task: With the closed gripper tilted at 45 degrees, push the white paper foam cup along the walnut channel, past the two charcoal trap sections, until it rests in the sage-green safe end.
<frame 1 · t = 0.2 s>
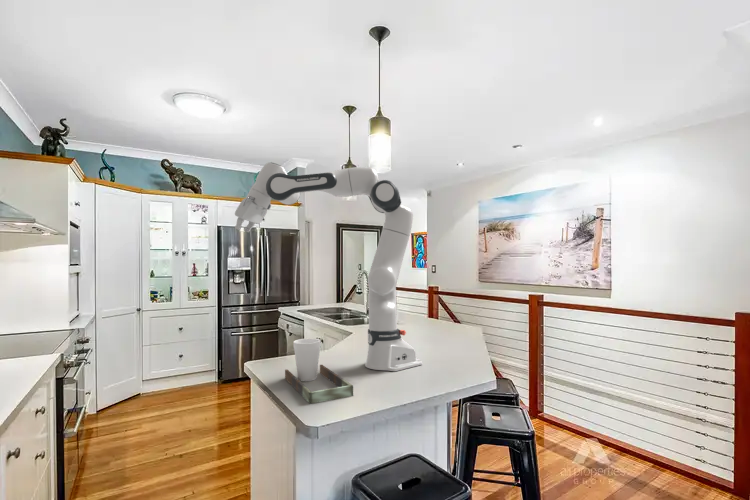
hand: (241, 230, 150), 54 cm above the worktop, tool tilted 30°, fingers open, 8 cm apart
foam cup: (307, 379, 132), on the worktop
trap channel: (316, 386, 123), on the worktop
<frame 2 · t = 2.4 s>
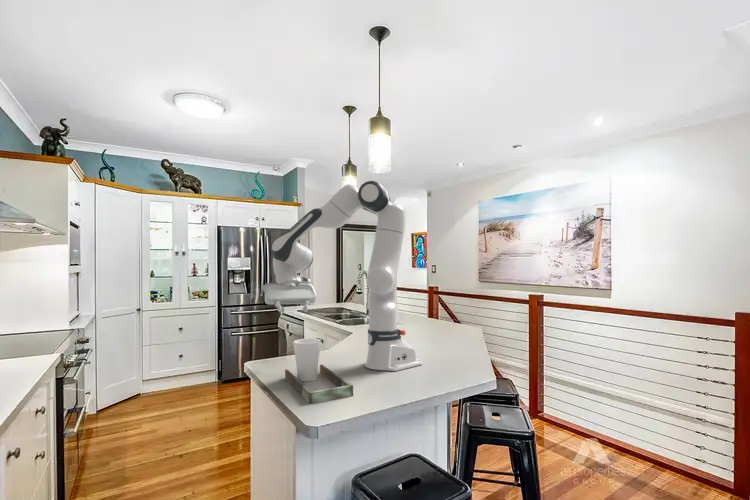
hand: (294, 311, 144), 22 cm above the worktop, tool tilted 40°, fingers open, 8 cm apart
nothing on the worktop moved.
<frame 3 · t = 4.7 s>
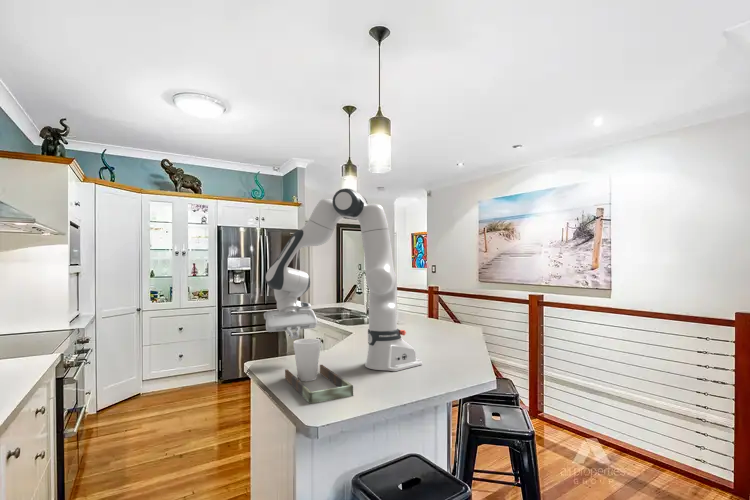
hand: (295, 337, 146), 12 cm above the worktop, tool tilted 45°, fingers closed
nothing on the worktop moved.
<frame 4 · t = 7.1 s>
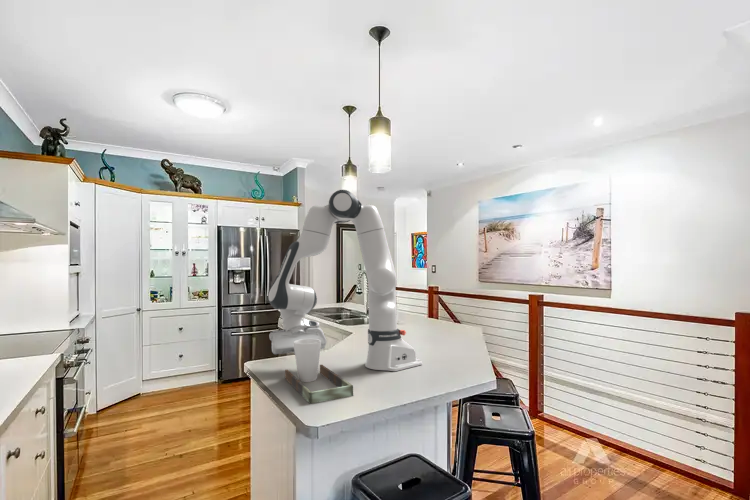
hand: (303, 360, 136), 5 cm above the worktop, tool tilted 45°, fingers closed, pressing on foam cup
foam cup: (307, 379, 131), on the worktop, touching gripper
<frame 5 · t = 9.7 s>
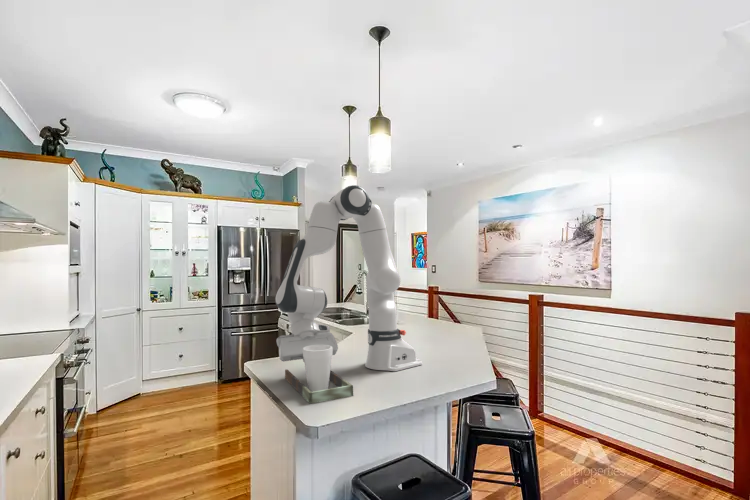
hand: (313, 367, 126), 5 cm above the worktop, tool tilted 45°, fingers closed, pressing on foam cup
foam cup: (318, 389, 121), on the worktop, touching gripper
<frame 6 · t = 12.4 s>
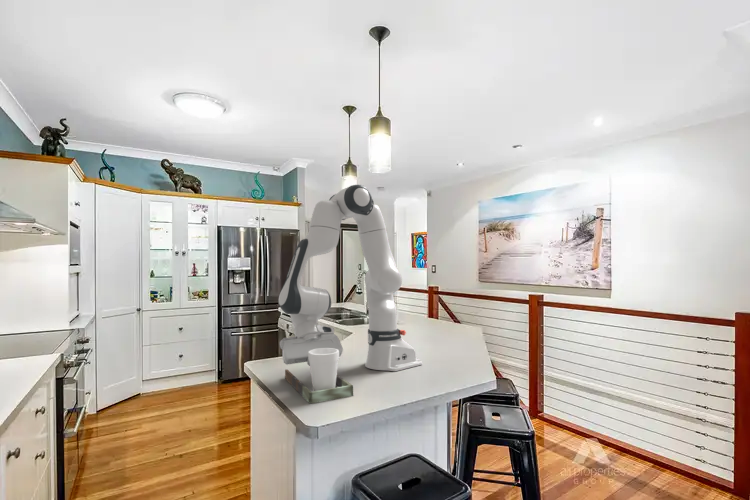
hand: (318, 370, 122), 5 cm above the worktop, tool tilted 45°, fingers closed
foam cup: (324, 394, 116), on the worktop
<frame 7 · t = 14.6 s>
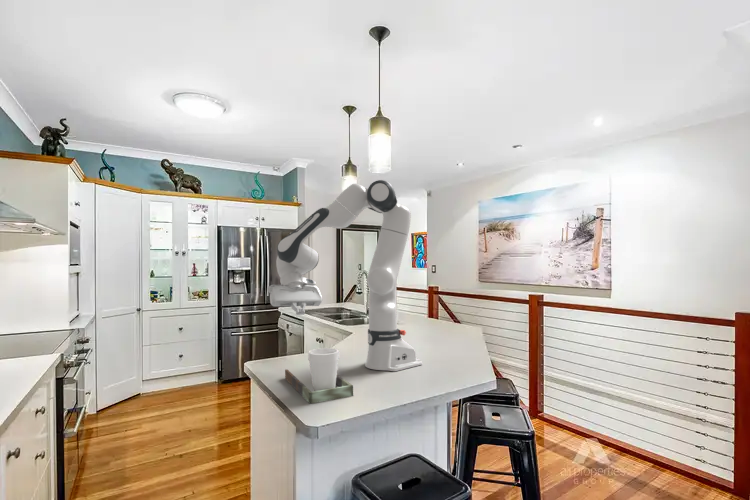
hand: (300, 313, 140), 22 cm above the worktop, tool tilted 40°, fingers closed
nothing on the worktop moved.
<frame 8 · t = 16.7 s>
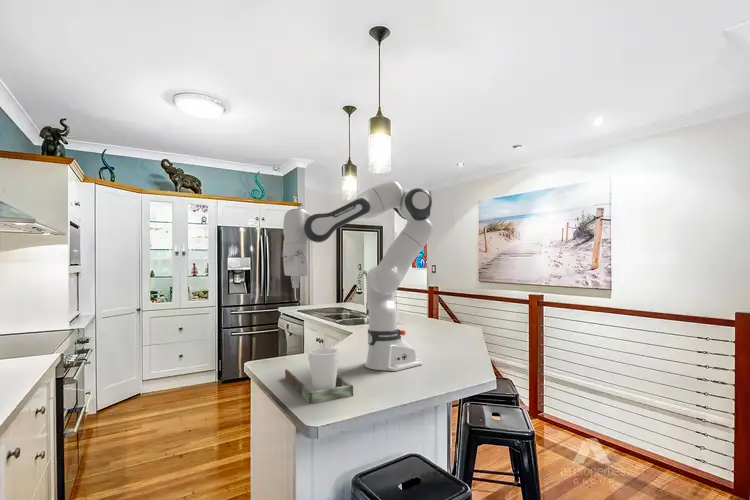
hand: (295, 288, 142), 31 cm above the worktop, tool pointing down, fingers closed
nothing on the worktop moved.
at the end: foam cup 1.4 cm from the target spot, on the worktop; foam cup tilted 0°; foam cup moved 18.2 cm from its start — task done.
